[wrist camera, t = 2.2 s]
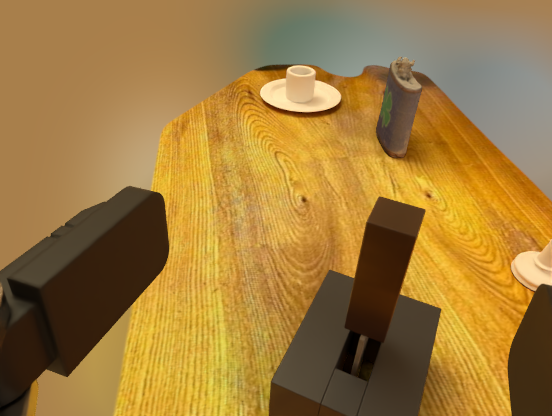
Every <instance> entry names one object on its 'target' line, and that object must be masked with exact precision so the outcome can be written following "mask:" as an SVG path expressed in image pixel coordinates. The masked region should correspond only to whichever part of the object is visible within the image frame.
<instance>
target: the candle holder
mask: <svg viewBox="0 0 552 416" xmlns="http://www.w3.org/2000/svg"><path fill="white" fill-rule="evenodd" d="M315 75H316V72H315V70H314V69H312V68H310V67H306V66H293V67H290V68H288V69H287V75H286V79H280V80H275V81H272V82H270V83H267V84H266V85H264V86H263V87H262V88H261V90H260V95H261V97H262V98H263V100H265V101H266V102H267V103H269V104H271V105H273V106H275V107H278V108H281V109H284V110H289V111H296V112H316V111H323V110H327V109H330V108H332V107H334V106H336V105H337V104H338V103H339V102H340V100H341V95H340V93H339V92H338V91H337V90H336V89H335V88H334V87H332V86H330V85H328V84H326V83H323V82H320V81H316V80H315Z"/></svg>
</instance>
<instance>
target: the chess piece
mask: <svg viewBox="0 0 552 416" xmlns="http://www.w3.org/2000/svg"><path fill="white" fill-rule="evenodd" d="M511 270H512V272H513V274H514V276H515V277H516V278H517V280H518V281H519V282H521V283H522V284H523V285H524V286H526V287H527V288H529V289H531V290H533V291H536V290H537V288H538V287H539V286H540V285H541V284H547V285H552V239H551V241H550V242H549V243H548V244H547V246H546V247H545V248H544V250H543V251H542V252H541V253H540V252H534V251H528V252H523V253H520V254H519V255H517V256H516V258H515V259H514V260H513V261H512V264H511Z"/></svg>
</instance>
